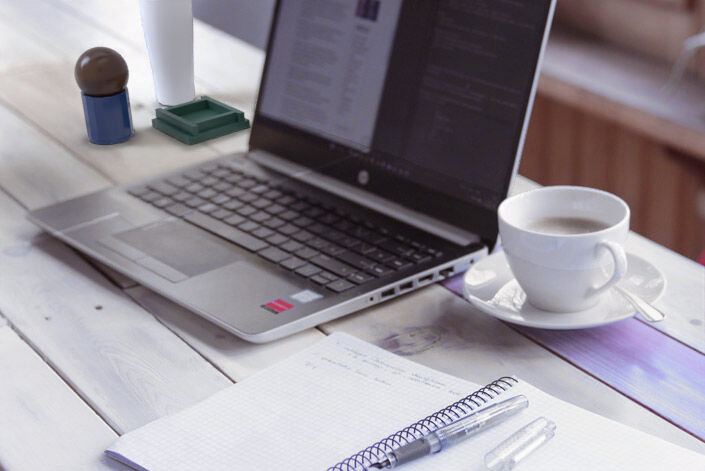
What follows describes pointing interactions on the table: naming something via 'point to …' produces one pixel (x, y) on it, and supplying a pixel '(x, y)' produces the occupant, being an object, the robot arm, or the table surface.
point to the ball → (101, 72)
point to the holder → (199, 120)
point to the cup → (108, 118)
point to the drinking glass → (170, 48)
